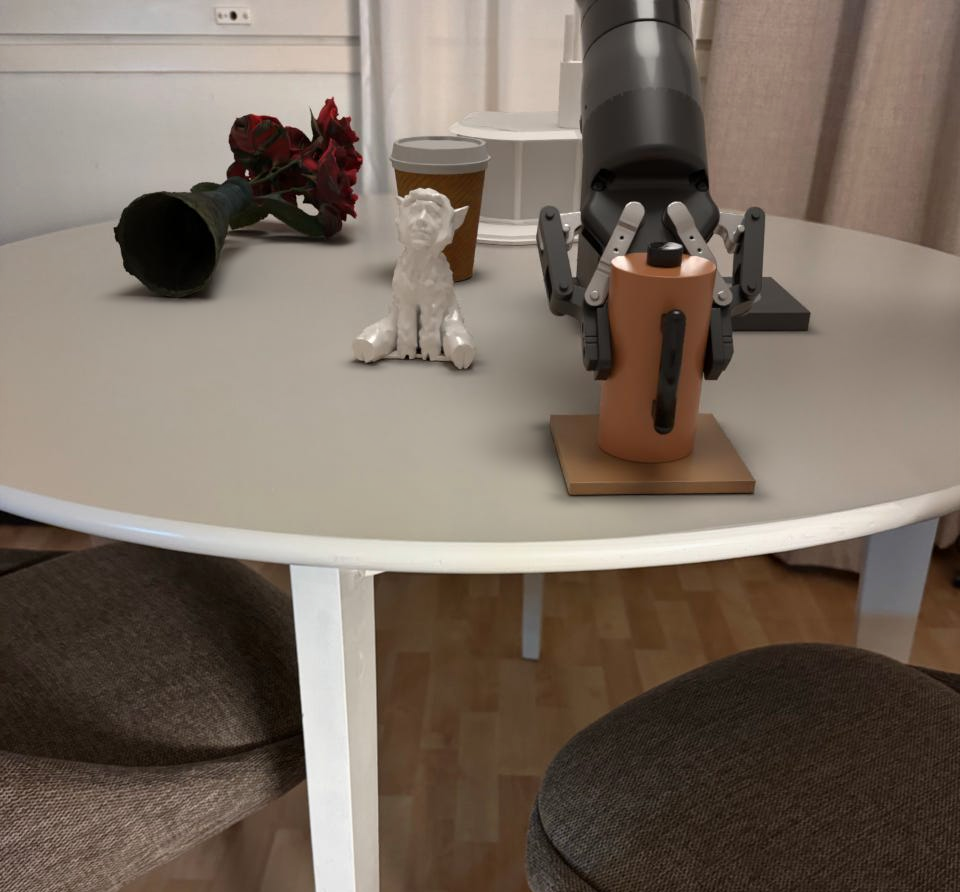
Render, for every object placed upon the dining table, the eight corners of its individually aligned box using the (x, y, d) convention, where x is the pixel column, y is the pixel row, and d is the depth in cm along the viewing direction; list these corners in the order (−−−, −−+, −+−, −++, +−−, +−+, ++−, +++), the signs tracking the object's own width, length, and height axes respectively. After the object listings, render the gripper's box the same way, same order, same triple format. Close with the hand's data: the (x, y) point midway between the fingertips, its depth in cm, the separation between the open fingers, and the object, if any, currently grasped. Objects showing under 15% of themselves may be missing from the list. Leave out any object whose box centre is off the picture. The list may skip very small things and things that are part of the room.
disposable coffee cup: (503, 269, 107) (507, 139, 101) (463, 291, 100) (463, 152, 93) (420, 259, 110) (418, 132, 104) (374, 279, 103) (369, 144, 97)
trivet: (710, 424, 72) (712, 413, 72) (754, 493, 63) (756, 480, 62) (549, 425, 71) (549, 414, 71) (569, 495, 62) (569, 482, 62)
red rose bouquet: (201, 378, 101) (297, 267, 129) (334, 255, 93) (407, 165, 121) (70, 246, 95) (201, 160, 123) (200, 101, 87) (309, 44, 115)
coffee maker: (768, 292, 101) (811, 11, 88) (808, 330, 90) (864, 18, 78) (569, 292, 100) (585, 8, 88) (587, 331, 90) (608, 15, 77)
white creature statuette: (350, 363, 82) (341, 197, 75) (375, 331, 89) (369, 177, 82) (472, 370, 81) (473, 202, 74) (487, 337, 88) (489, 181, 81)
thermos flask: (682, 425, 69) (705, 233, 63) (710, 475, 63) (740, 266, 56) (591, 426, 69) (605, 233, 63) (610, 476, 62) (627, 266, 56)
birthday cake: (365, 215, 129) (356, 9, 117) (533, 188, 145) (539, 5, 133) (540, 261, 110) (550, 22, 98) (710, 225, 126) (735, 15, 115)
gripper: (532, 81, 62) (544, 344, 59) (774, 83, 63) (801, 343, 59) (522, 164, 69) (531, 403, 66) (739, 165, 70) (760, 401, 67)
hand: (659, 373), depth 63 cm, fingers closed on thermos flask, 6 cm apart
